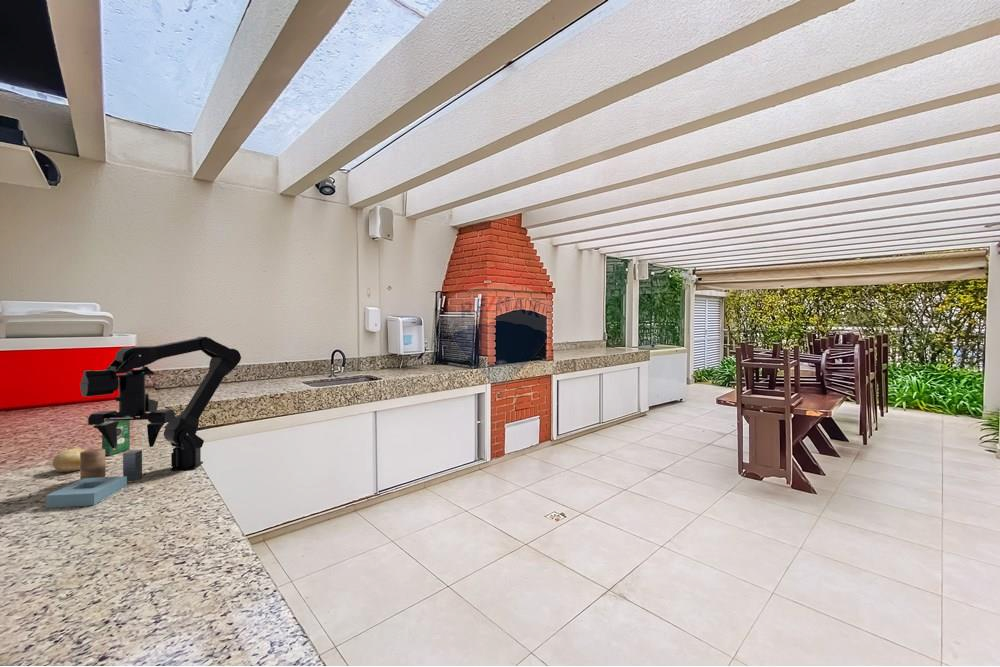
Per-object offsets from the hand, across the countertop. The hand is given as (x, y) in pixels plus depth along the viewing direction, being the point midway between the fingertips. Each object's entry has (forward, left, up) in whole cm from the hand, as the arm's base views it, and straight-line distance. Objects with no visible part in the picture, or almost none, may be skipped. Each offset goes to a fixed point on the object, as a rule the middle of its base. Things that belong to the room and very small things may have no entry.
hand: (133, 447), depth 124 cm
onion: (+23, -12, -10) cm, 28 cm away
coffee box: (+22, -30, -9) cm, 38 cm away
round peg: (+11, -2, -9) cm, 15 cm away
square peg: (0, 0, -9) cm, 9 cm away
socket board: (+3, +12, -9) cm, 15 cm away
